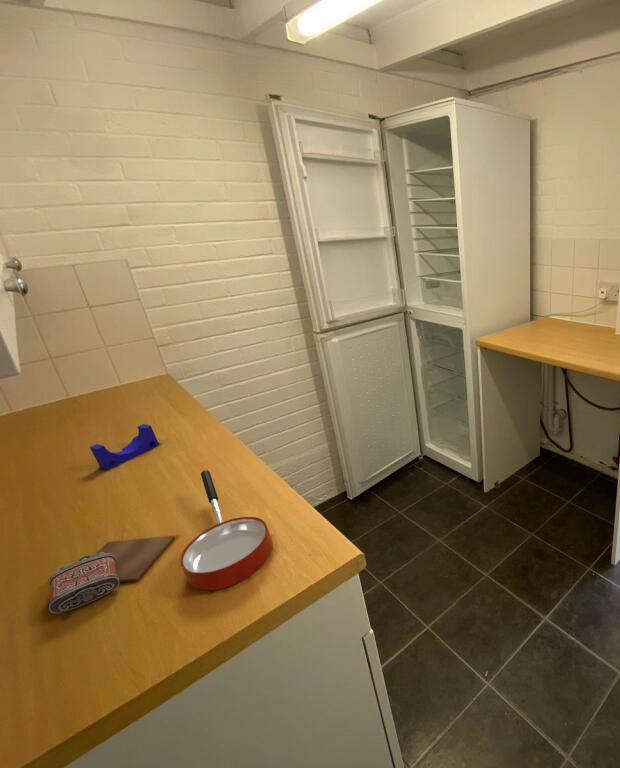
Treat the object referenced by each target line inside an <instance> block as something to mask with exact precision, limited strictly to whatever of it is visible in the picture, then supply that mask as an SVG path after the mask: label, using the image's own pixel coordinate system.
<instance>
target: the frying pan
mask: <svg viewBox="0 0 620 768" xmlns="http://www.w3.org/2000/svg"><path fill="white" fill-rule="evenodd" d="M200 477H201V480H202V484H203V488H204V490H205V493H206V497H207V501H208V503H209V504H210V505H211V508H212V511H213V515H214V519H215V521H216V524H215V525H213V526H211V527H209V528H207V529H206V530H204V531H202V532H201V533H199V534H198V535H197V536H195V537H194V538H193V539H192V540H191V541H190V542H189V543H188V544H187V545H186V546H185V548H184V549H183V551H182V552H181V554H180V557H179V565H180V567H181V569H182V570H183V573H184V575H185V577H186V579H187V582H188V583H189V584H190V585H191V586H192V587H194V589H197V590H201V591H216V590H221V589H225V588H228V587H231V586H234V585H236V584H238V583H241V582H242V581H244V580H246V579H247V578H250V577H251V576H253V574H254V573H257V571H259V569H260V568H261V567H263V565H265V564H266V562H267V561H268V560H269V558H270V556H271V554H272V551H273V547H274V544H273V539H272V537H271V534H270V531H269V528H268V526H267V523H266V521H264V519H261V518H259V517H256V516H241V517H235V518H231V519H228V520H224V516H223V512H222V511H221V507H220V504H219V496H218V493H217V491H216V487H215V484H214V481H213V478H212V475H211V472H210V470H207V469H206V470H203V471H201V472H200Z"/></svg>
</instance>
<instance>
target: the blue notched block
mask: <svg viewBox="0 0 620 768" xmlns="http://www.w3.org/2000/svg"><path fill="white" fill-rule="evenodd" d="M137 429H138V435H136V436H134V437H133V438H132V440H131V441H130V442H129V443H128V444H127V445H126V446H124V447H123V448H121V451H116V452H115V451H114V452H111V451H109V450H108V449H107V448H106V447H105V445H102V444H98V443H96V444H93V445H90V446H89V449H90V451H91V453H92V455H93V456H94V458H95V461H96V462H97V464H98V466H99V468H101V469H104V470H107V471H108V470H110V469H112V468H115V467H116V466H118V465H120V464H123V463H125V462H126V461H128V460H131V459H133V458H135V457H138V456H139V455H141V454H143V453H145V452H147V451H149V450H151V449H154V448H155V447H158V446H160V442H159V441H158V439H157V436H156V434H155V432H154V430H153V427H152V426H151V425H150V424H146V423H143V424H140V425H138V426H137Z"/></svg>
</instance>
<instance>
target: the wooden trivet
mask: <svg viewBox="0 0 620 768" xmlns="http://www.w3.org/2000/svg"><path fill="white" fill-rule="evenodd" d="M175 538H176V537H175V535H168V536H167V535H166V536H159V537H158V536H157V537H148V538H137V539H128V540H127V539H126V540H119V541H116V540H115V541H108V542H106V543H105V544H104V545H103V546H102V547H101V548H100V549H99V550H98V551H97V552H96V553H95V554H97V553H100V552H104V553H105V554H107V553H111V554H113V555H114V556H115V558H116V562H115V567H116V573H117V576H118V577H119V584H121V583H129V582H138V581H139V580H140V579H141V578H142V577H143V576H144V575H145V574H146V573H147V571H148V570H149V569H150V567H152V566H153V564H154V563H155V562H156V561H157V559H159V558H160V557H161V555H162V554H163V553H164V552H165V550H166V549H167V548H168V547H169V546H170V545H171V544H172V542H173V541H174V540H175Z"/></svg>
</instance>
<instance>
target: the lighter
mask: <svg viewBox="0 0 620 768" xmlns="http://www.w3.org/2000/svg"><path fill="white" fill-rule="evenodd" d="M96 553H97V552H96ZM96 553H95V554H90V555H89V554H87V555H84V556H82V557H80V558H79V559H78V560H77V561H74V562H72V563H69V564H66V565H64V566H61V567H59V568H57V569H56V570H55V572H54V573H53V574H52V575H51V576H50V577H49V582H48V583H49V586H50V601H49V603H48V610H49V611H50V613H53V614H61V613H64V612H67V611H71V610H73V609H77V608H80V607H81V606H85V605H87V604H89V603H92V602H94V601H96V600H98V599H99V598H102V597H104V596H106V595H107V594H109V593H111V592H113V591H114V590H116V589H117V588H118V587H119V586H120V583H119V577H118V576H117V573H116V567H115V562H116V558H115V556H114V555H113V554H111V553H107V554H105V553H104V552H100V553H97V554H96Z"/></svg>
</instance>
